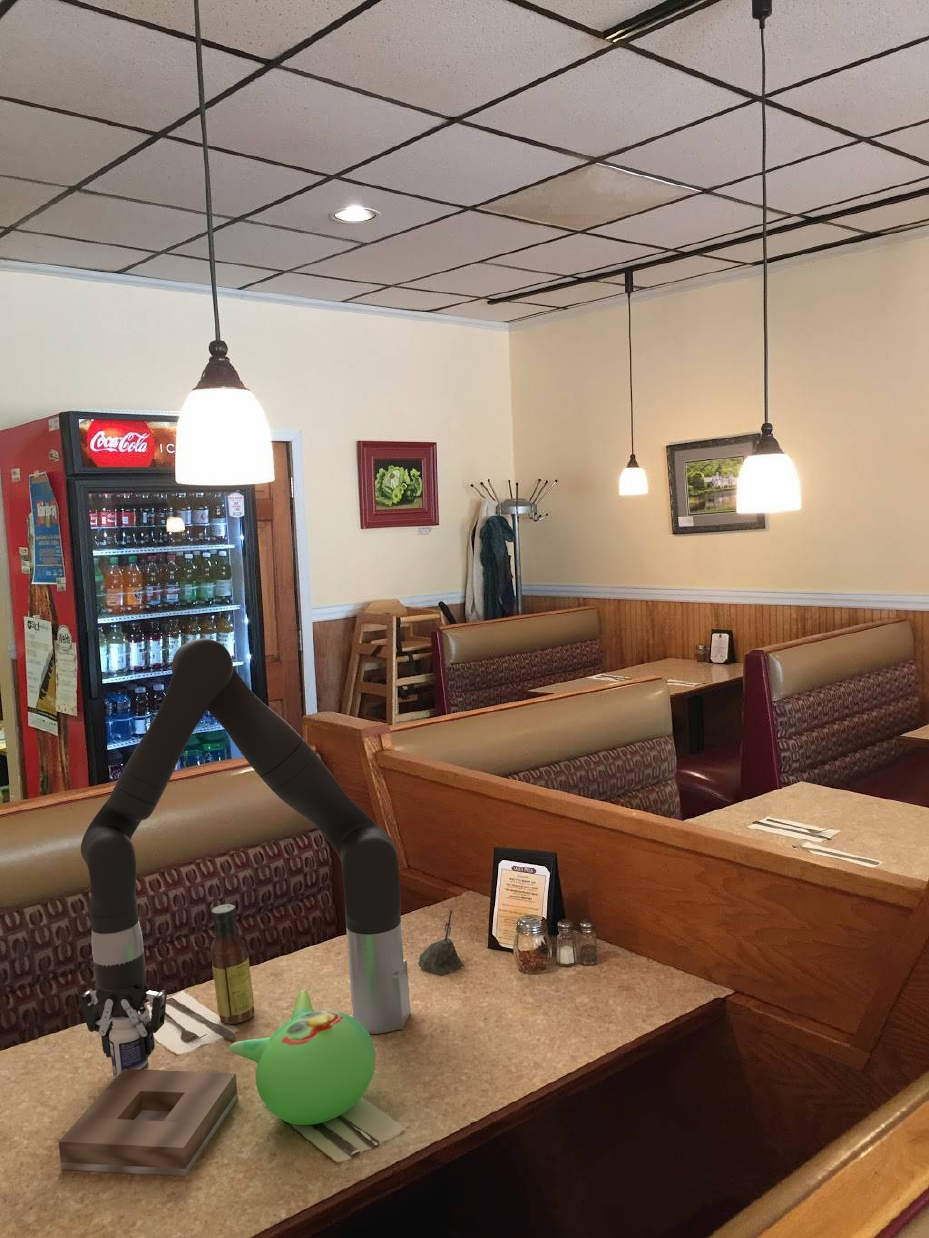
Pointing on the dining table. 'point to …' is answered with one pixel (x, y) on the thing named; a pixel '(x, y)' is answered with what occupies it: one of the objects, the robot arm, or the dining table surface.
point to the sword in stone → (441, 956)
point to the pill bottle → (125, 1046)
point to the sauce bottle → (231, 968)
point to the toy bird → (311, 1064)
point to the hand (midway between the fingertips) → (129, 1054)
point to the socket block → (149, 1122)
